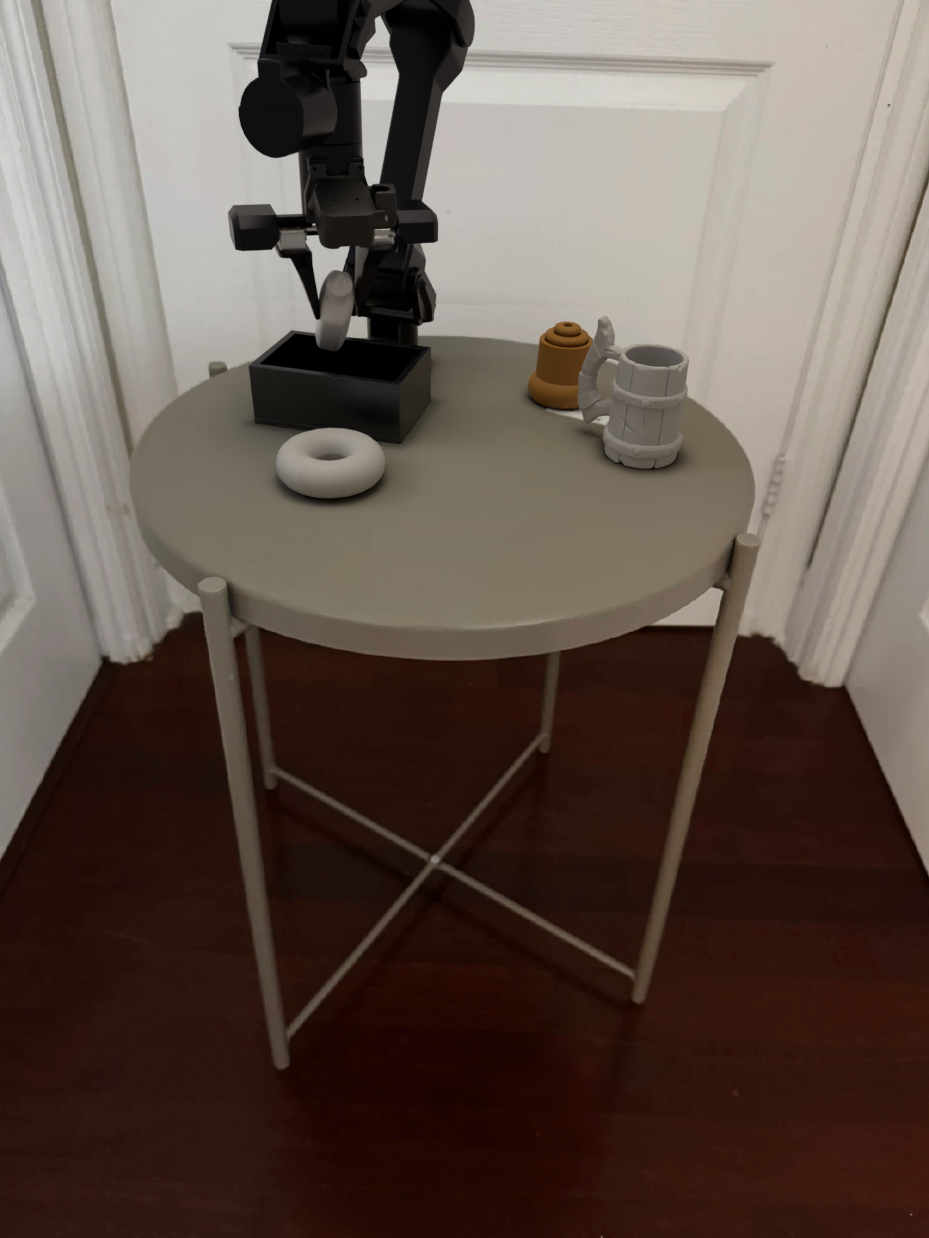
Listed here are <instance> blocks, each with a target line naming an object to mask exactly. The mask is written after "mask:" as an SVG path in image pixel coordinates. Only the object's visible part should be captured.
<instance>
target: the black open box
mask: <svg viewBox="0 0 929 1238" xmlns="http://www.w3.org/2000/svg"><path fill="white" fill-rule="evenodd" d="M248 375H249V382H250V390H251V401H252V407H253V415H254V416H253V417H254V423H255V424H260V425H267V426H273V427H274V426H275V427H279V428H287V429H295V430H302V431H311V430H315V429H323V428H344V429H349V430H354V431H358V432H361V433H363V434H366V435H368V436H369V437H371V438H372V439H373V440H375V441H376V442H377V441H379V442H386V443H393V444H398V445H401V444H402V442H403V441H404V440H405V438H406V437H407V435H408V434H409V433H410V431H412V429H413V427H414V426H415V424H416V423H417V422H418V420H419V419H420V417H421V416H422V415H423V414H424V412H425V411H426V409H427V408H428V407H429V405H430V404H431V403H432V347H431V346H424V345H418V346H417V345H409V344H401V343H393V342H384V341H376V340H368V338H358V337H352V336H346V338H345V341H344V343H343V344H342V346H341V348H340V349H339V350H338V351H330V350H325V349H321V348H320V347H319V346H318V345H317V342H316V337H315V332H311V331H303V330H302V331H301V330H294V329H291V330H289V332H287V333H286V334H284V335H283V337H281V338H280V339H279V340H277V341H276V342H275V343H274V344H272V346H270V347H269V348H268V349H267V350H265V351H264V352H263V353H262V354H260V355H259V356H258V357H257V358H256V359H254V361H252V362H251V363H250V364H248Z"/></svg>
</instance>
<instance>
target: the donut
mask: <svg viewBox="0 0 929 1238" xmlns="http://www.w3.org/2000/svg"><path fill="white" fill-rule="evenodd" d="M274 463H275V469H276V472H277V476H278V478H279V479H280V480H281V482H283V484H284V485H286V487H288V488H289V489H290V490H292V491H294V492H296V493H298V494H300V495H303V496H308V497H312V498H316V499H339V498H348V497H351V496H354V495H358V494H361V493H363V492H365V491H367V490H369V489H371V488H372V487H373V486H375V485H376V483H378V481H380V480H381V478H382V476H383V475H384V472H385V468H386V463H387V459H386V455H385V453H384V450H383V448H382V446H381V444H380V443H378V442H377V440H373V439H372V438H371V437H369V436H368V435H366V434H363V433H361V432H358V431H354V430H349V429H344V428H323V429H315V430H311V431H308V430H306V431H303V432H301V433H298V434H296V435H294V436H291V437H290V438H289V439H288V440H287V441H285V442H284V443H283V444H282V445H281V446H280V449H279V450H278V452H277V455H276V456H275V462H274Z"/></svg>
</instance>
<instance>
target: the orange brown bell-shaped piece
mask: <svg viewBox="0 0 929 1238" xmlns="http://www.w3.org/2000/svg"><path fill="white" fill-rule="evenodd" d="M593 339H594V338H592V337H591V336H590V335H589V332H588V331H586V330H585V329H584V328H582V327H581V325H580V324H579V323H576V322H574V321H559V322H557V323H555V324H554V326H553V327H550V328H548V329H546V331H545V332H544V333H542V334H541V335H539V341H538V342H539V343H538V350H537V358H536V367H535V370H534V371H533V372H532V374H530V376H529V379H528V381H527V390H528V393H529V396H530V397H531V398H532V399H533V400H534V401H535V402H536V403H538V404H539V405H542V406H543V407H548V408H551V409H557V410H558V409H559V410H573V409H579V406H578V400H577V395H578V378H579V373H580V372H581V371H582V366H583V363H584V361H585V359H586V355H587V353H588V351H589V349H590V347H591V344H592V342H593ZM596 388H597V389H598V384H596Z"/></svg>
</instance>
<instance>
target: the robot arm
mask: <svg viewBox="0 0 929 1238" xmlns="http://www.w3.org/2000/svg"><path fill="white" fill-rule="evenodd" d="M379 17H380V19H381V20H382V23H383V25H384V27H385V28H386V30H387V33H388V34H389V39H388V40H389V41H388V46H389V49H390V52H391V55H392V58H393V61H394V64H395V67H396V70H397V73H398V79H397V84H396V91H395V95H394V99H393V106H392V111H391V112H392V113H391V116H390V117H391V119H390V122H389V129H388V134H387V137H386V144H385V150H384V154H383V160H382V166H381V170H380V176H379V182H378V183H372V185H369V183H368V181H367V178H366V173H365V170H366V169H365V158H364V153H363V151H364V150H363V118H362V85H361V84H362V83H361V79H364V78H367V76H368V69H367V67H366V65H365V64H364V62H363V61H362V59H363V58H362V57H363V55H364V52H365V49H366V46H367V44H368V43H369V42H370V41H371V39H372V38H373V37H374V36H375V34H376V33H377V29H376V19H377V18H379ZM475 17H476V16H475V13H474V9H473V6H472V2H471V0H271V2H270V7H269V11H268V15H267V20H266V24H265V28H264V31H263V36H262V42H261V46H260V50H259V53H258V58H257V60H256V66H257V67H256V69H257V77H255V78H254V79H252V80H251V81H250V82H249V83H248V84H247V85H246V86H245V88H244V89H243V92H242V95H241V96H240V103H239V106H238V109H237V110H238V120H239V124H240V127H241V130H242V133H243V135H244V137H245V138H246V140H247V141H248V143H249V144H250V145H251V146H252V147H253V149H255V150H256V151H257V152H258V153H260V154H262V155H263V156H265V157H269V158H271V159H279V158H281V159H282V158H287V157H288V156H291V155H295V154H297V156H298V157H297V158H298V160H297V161H298V175H299V187H300V188H299V189H300V204H301V213H286V214H285V213H284V214H277V213H276V211H275V210H274V208H273V206H272V204H271V203H257V204H256V203H255V204H254V203H253V204H233V205H232V206H231V207H230V209H229V210H228V211H227V217H228V218H227V219H228V220H227V221H228V228H229V236H230V240H231V242H232V244H233V247H234V249H235V251H239V252H254V251H255V252H257V251H258V252H259V251H272V250H273V249H274V250H275V252H276V253H277V255H278V257H279V258H281V259H290V261H291V263H292V264H293V266H294V269H295V270H296V273H297V275H298V277H299V280H300V282H301V285H302V289H303V291H304V293H305V296H306V298H307V300H308V304H309V307H310V309H311V311H312V314H313V317H314V319H315V321H316V320H319V319H320V305H319V294H318V293H319V292H318V287H317V282H316V275H315V271H314V265H313V263H314V260H313V252H312V250H311V249H310V247H309V245H308V244H307V241H308V237H310V236H318V241H319V243H320V245H321V246H322V247H324V248H325V249H328V250H339V249H340V248H343V247H346V248H347V247H348V248H349V249H348V252H347V256H346V257H345V261H344V265H343V269H342V271H343V272H346V273H349V274H350V275H351V277H352V279H353V282H354V287H355V301H354V307H353V311H352V315H351V317H357V318H366V332H367V333H366V335H367V339H368V340H376V341H384V342H393V343H401V344H409V345H417V346H419V327H421V326H422V325H423V324H426V323H432V322H434V321H435V311H436V308H437V293H436V290H435V289H434V287H433V284H432V282H431V281H430V279H429V276H428V274H427V273H426V263H427V257H426V255H425V252H424V249H423V247H422V244H434V243H437V242H438V241H439V218H438V215H437V214H436V213H435V211H434V210H433V209H432V208H431V207H430V206H428V205H427V204H426V203H424V202H423V198H424V193H425V188H426V184H427V183H426V182H427V177H428V171H429V167H430V161H431V156H432V151H433V146H434V141H435V134H436V129H437V124H438V119H439V114H440V108H441V104H442V99H443V94H444V93H445V91H446V90H447V89H448V88H449V87H450V86H451V84H452V83H454V81H455V80H456V78H457V77H458V76H459V75H460V74H462V72H463V69H464V66H465V62H466V58H467V54H468V50H469V48H470V47H471V46H472V45H473V42H474V39H475V38H474V37H475V32H476V18H475Z"/></svg>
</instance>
